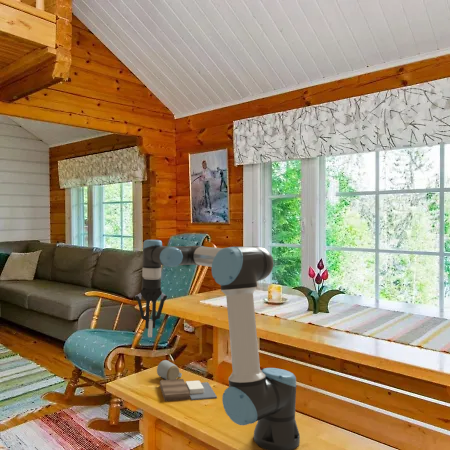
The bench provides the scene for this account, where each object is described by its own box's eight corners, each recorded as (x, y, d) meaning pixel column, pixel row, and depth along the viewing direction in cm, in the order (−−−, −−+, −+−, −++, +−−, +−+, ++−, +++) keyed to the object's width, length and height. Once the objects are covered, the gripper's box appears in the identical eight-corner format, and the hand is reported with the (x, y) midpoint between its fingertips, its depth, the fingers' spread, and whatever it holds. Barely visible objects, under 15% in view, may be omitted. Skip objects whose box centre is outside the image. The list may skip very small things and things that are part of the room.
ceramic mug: (167, 383, 194) (167, 366, 194) (156, 378, 200) (156, 361, 200) (185, 378, 201) (186, 361, 201) (174, 373, 207) (175, 357, 207)
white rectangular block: (204, 393, 183) (204, 388, 183) (189, 394, 182) (189, 389, 182) (199, 384, 192) (199, 380, 192) (185, 386, 190) (185, 381, 190)
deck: (189, 399, 178) (189, 393, 178) (164, 401, 176) (165, 395, 176) (182, 384, 194) (182, 378, 194) (159, 386, 191) (159, 380, 191)
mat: (216, 398, 180) (216, 396, 180) (191, 400, 177) (191, 398, 177) (207, 383, 196) (207, 382, 196) (184, 385, 193) (184, 383, 193)
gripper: (166, 276, 184) (164, 333, 185) (134, 276, 181) (133, 334, 181) (169, 279, 177) (167, 338, 178) (135, 279, 174) (134, 339, 174)
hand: (150, 336), depth 179 cm, fingers closed
